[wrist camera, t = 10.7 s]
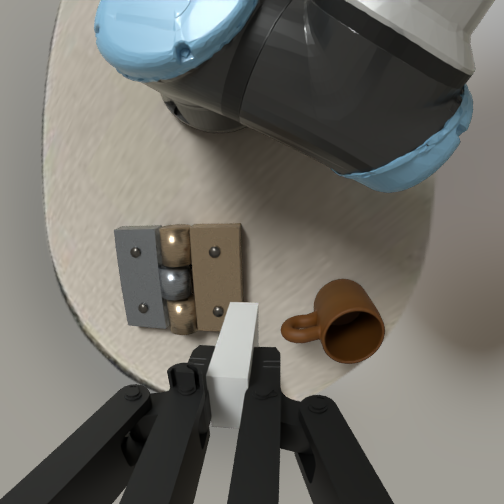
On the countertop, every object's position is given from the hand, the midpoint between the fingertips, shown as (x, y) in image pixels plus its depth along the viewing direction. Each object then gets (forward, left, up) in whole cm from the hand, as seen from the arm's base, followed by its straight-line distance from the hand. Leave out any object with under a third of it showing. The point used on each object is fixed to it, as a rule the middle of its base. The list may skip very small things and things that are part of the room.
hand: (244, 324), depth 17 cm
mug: (+10, +8, -25) cm, 28 cm away
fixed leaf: (+6, -8, -24) cm, 26 cm away
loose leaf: (+6, -14, -25) cm, 29 cm away
